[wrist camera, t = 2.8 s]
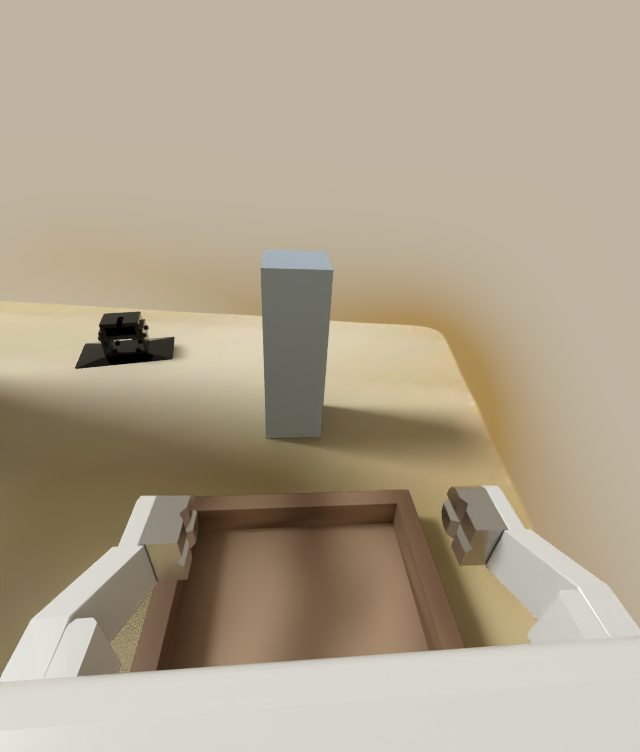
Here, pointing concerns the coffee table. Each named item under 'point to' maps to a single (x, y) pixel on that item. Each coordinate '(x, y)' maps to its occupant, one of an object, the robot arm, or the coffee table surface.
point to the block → (295, 340)
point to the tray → (300, 584)
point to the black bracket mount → (124, 343)
